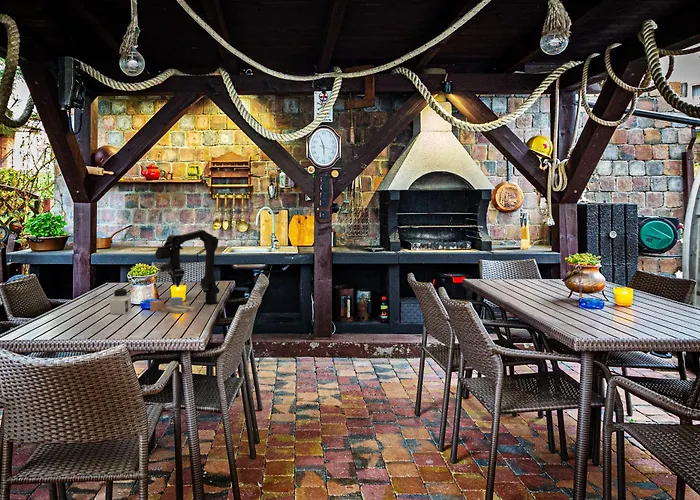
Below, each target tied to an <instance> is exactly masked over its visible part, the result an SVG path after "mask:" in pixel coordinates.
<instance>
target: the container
mask: <svg viewBox="0 0 700 500" xmlns="http://www.w3.org/2000/svg"><path fill="white" fill-rule="evenodd" d="M131 299H132V298H131V297H128V292H127V289H126V288H115V289H114V290H113V298H111V299H110V300H109V313H110V314H111V315H125V314H129V313H130V312H131V311H132V309H131V308H132V303H131V302H132V300H131Z"/></svg>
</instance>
